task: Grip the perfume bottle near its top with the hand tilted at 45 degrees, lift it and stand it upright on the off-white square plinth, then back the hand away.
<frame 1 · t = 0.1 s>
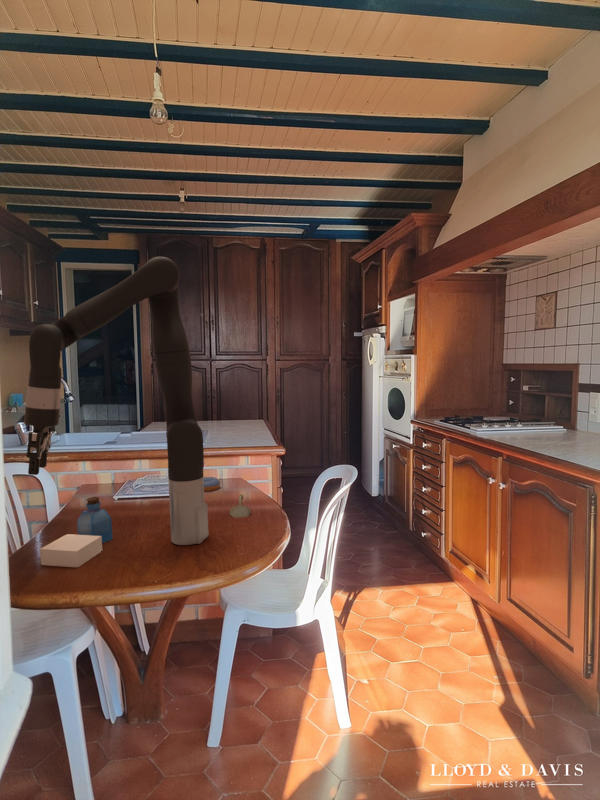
hand: (37, 470, 121), 22 cm above the table, tool pointing down, fingers open, 8 cm apart
doughnut: (206, 489, 185), on the table
plinth: (72, 557, 123), on the table
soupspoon: (240, 508, 162), on the table
perfume bottle: (95, 542, 134), on the table
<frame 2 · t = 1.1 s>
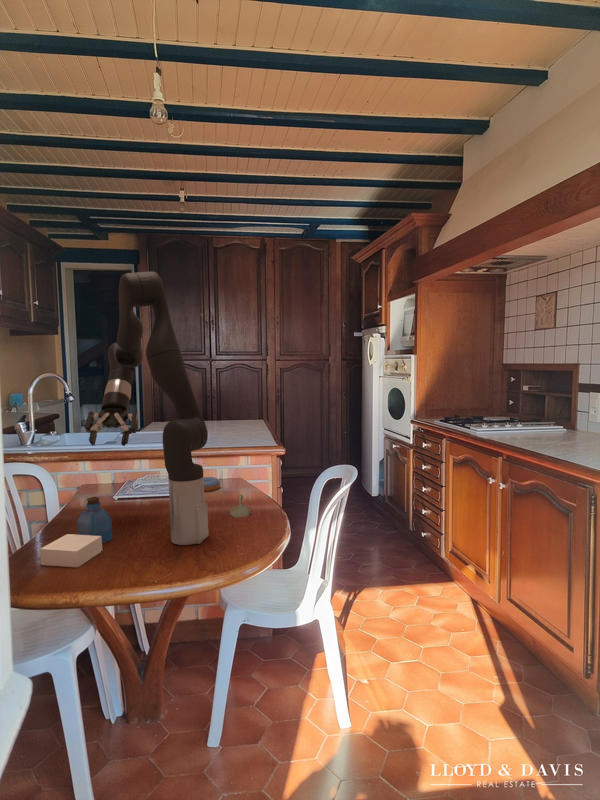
hand: (107, 444, 140), 25 cm above the table, tool tilted 40°, fingers open, 8 cm apart
nothing on the table moved.
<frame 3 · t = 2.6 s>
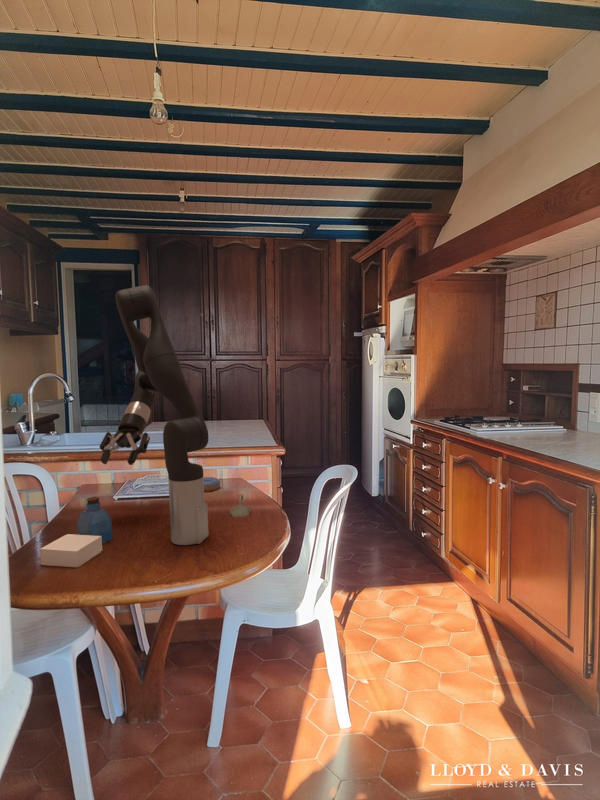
hand: (116, 463, 144), 19 cm above the table, tool tilted 45°, fingers open, 8 cm apart
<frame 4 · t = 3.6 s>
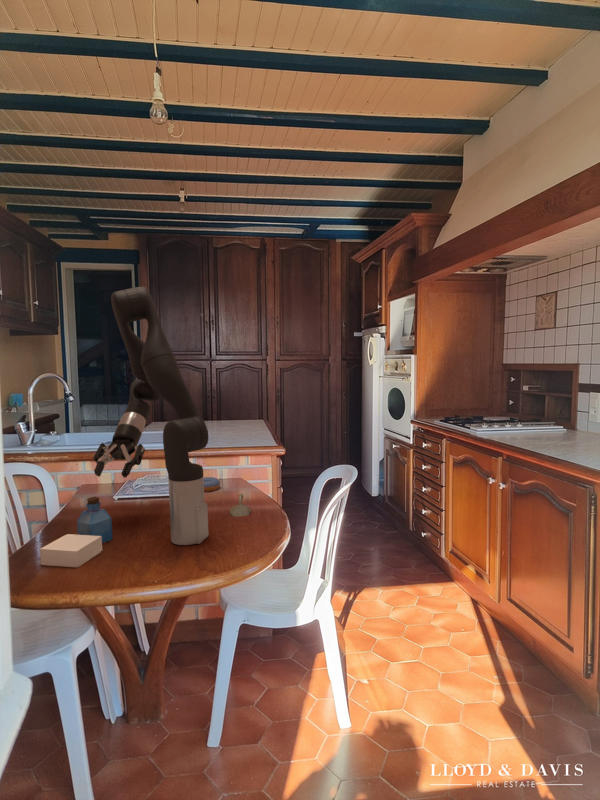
hand: (110, 475, 141), 16 cm above the table, tool tilted 45°, fingers open, 8 cm apart
nothing on the table moved.
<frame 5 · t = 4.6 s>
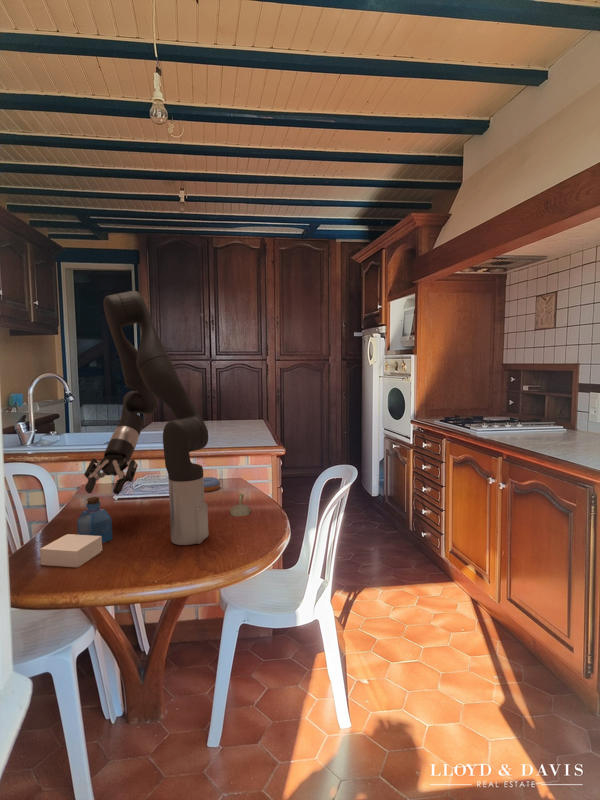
hand: (101, 492, 137), 12 cm above the table, tool tilted 45°, fingers open, 8 cm apart
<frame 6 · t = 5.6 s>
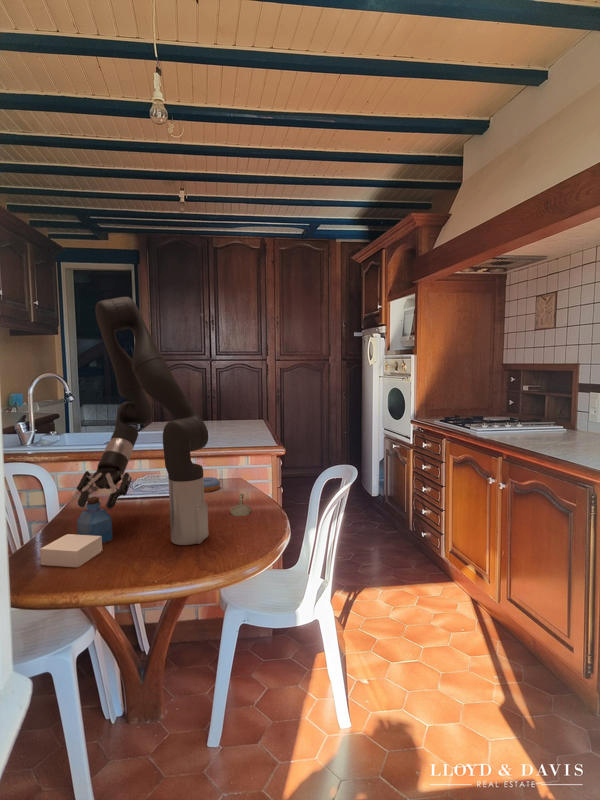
hand: (94, 506, 133), 9 cm above the table, tool tilted 45°, fingers open, 8 cm apart
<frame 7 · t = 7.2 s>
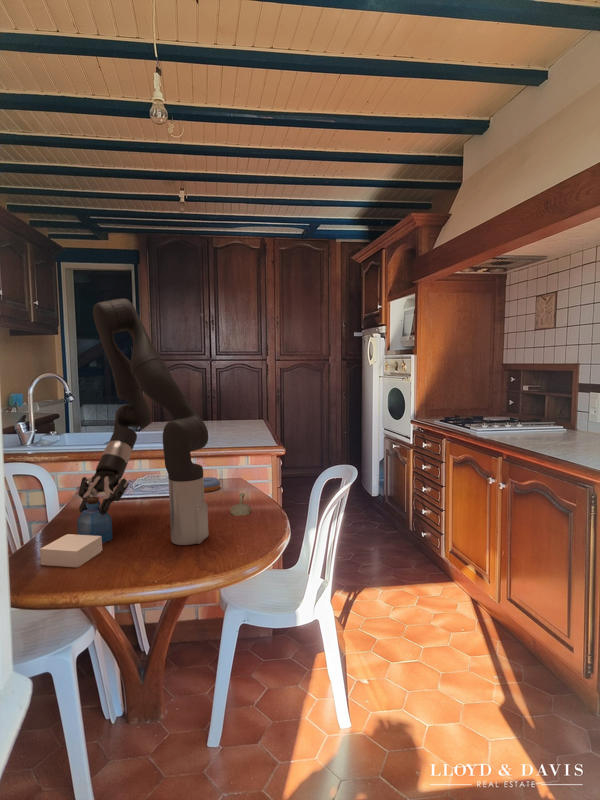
hand: (92, 512, 132), 8 cm above the table, tool tilted 45°, fingers closed on perfume bottle, 5 cm apart
perfume bottle: (95, 541, 134), on the table, touching gripper
when the fingers open (14 cm above the table, at t = 12.4 s): perfume bottle drops 1 cm, resting on plinth.
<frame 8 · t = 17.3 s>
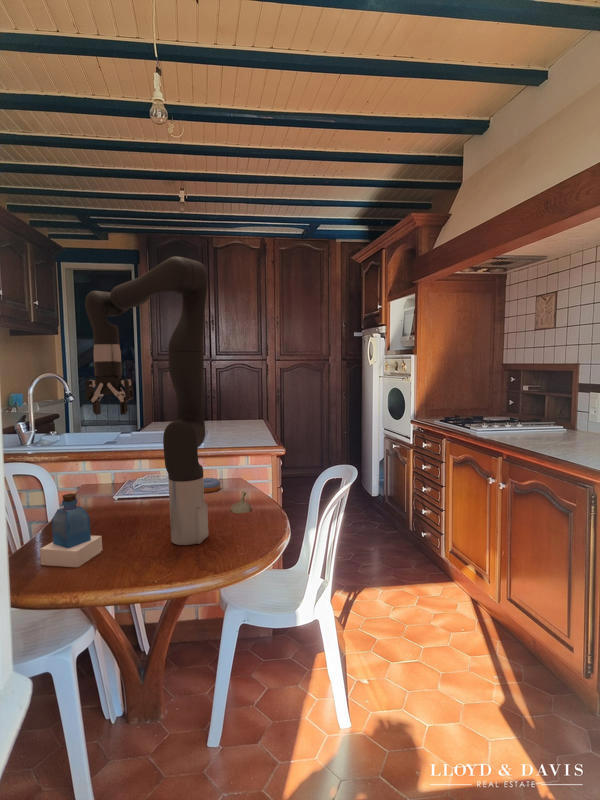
hand: (110, 414, 146), 33 cm above the table, tool pointing down, fingers open, 8 cm apart
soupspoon: (242, 505, 166), on the table
perfume bottle: (72, 542, 123), point 4 cm above the table, touching plinth
at the end: perfume bottle inside the target area on the plinth (0.2 cm from its centre), point 3.8 cm above the plinth's base; perfume bottle tilted 0°; the gripper is holding nothing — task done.
